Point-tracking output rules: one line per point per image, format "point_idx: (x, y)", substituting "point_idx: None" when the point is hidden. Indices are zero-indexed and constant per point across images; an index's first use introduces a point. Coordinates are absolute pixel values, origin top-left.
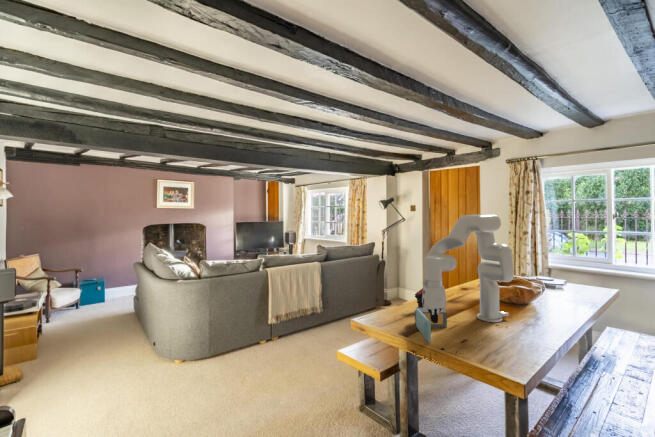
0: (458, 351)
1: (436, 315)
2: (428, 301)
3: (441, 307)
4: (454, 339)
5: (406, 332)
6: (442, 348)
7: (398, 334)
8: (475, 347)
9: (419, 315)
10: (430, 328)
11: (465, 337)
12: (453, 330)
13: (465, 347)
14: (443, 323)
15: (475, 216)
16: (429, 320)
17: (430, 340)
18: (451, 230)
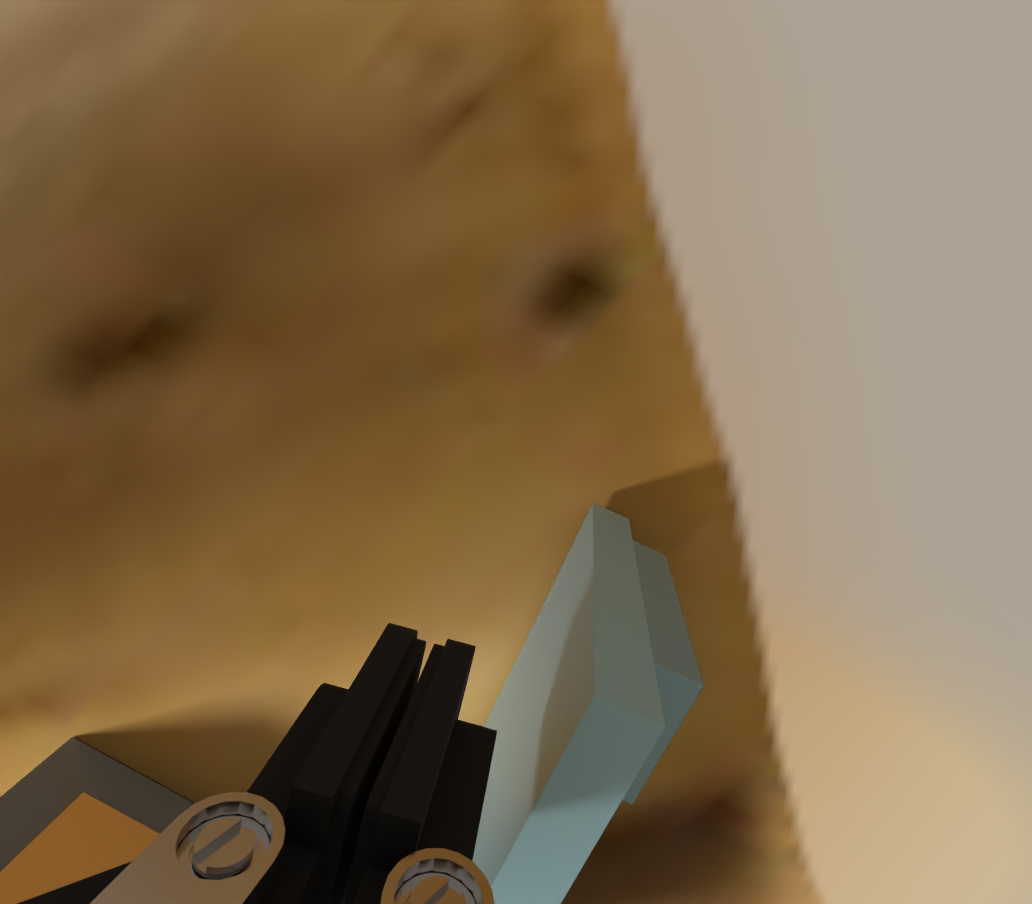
0: (422, 113)
1: (342, 779)
2: None
3: None
4: (209, 440)
5: (642, 882)
6: (564, 298)
7: (785, 892)
8: (108, 109)
9: None
10: (600, 604)
11: (35, 419)
12: (47, 642)
13: (238, 174)
14: (64, 800)
15: None
16: (554, 773)
17: (598, 515)
18: None
